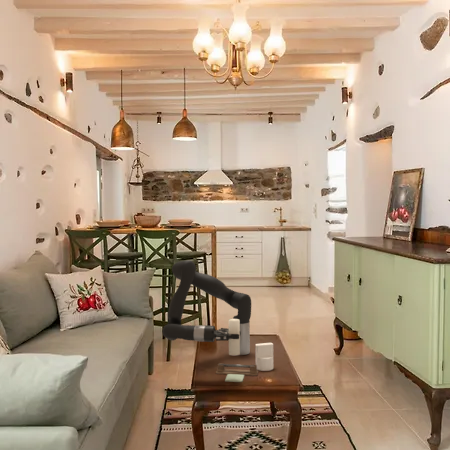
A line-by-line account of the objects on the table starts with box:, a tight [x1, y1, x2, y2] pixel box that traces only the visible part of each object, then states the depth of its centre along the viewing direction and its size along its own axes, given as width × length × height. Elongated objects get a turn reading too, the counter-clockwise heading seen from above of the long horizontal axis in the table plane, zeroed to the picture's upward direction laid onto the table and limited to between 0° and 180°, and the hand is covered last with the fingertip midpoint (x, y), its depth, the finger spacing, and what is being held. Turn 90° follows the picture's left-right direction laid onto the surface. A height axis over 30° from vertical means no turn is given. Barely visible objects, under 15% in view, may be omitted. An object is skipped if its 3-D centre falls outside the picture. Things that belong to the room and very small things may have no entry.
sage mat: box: [224, 374, 245, 383], centre depth 217 cm, size 8×8×1 cm
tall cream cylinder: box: [228, 318, 240, 356], centre depth 216 cm, size 5×5×16 cm
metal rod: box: [219, 363, 255, 369], centre depth 224 cm, size 1×18×1 cm, turn 81°
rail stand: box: [215, 362, 259, 377], centre depth 224 cm, size 5×20×4 cm, turn 81°
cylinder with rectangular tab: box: [254, 342, 274, 372], centre depth 231 cm, size 9×9×12 cm
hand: (239, 335), depth 216 cm, fingers closed on tall cream cylinder, 5 cm apart
